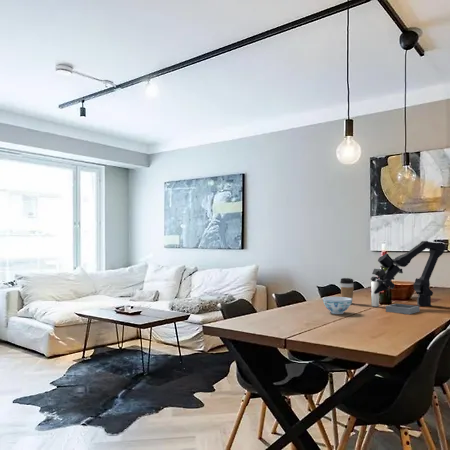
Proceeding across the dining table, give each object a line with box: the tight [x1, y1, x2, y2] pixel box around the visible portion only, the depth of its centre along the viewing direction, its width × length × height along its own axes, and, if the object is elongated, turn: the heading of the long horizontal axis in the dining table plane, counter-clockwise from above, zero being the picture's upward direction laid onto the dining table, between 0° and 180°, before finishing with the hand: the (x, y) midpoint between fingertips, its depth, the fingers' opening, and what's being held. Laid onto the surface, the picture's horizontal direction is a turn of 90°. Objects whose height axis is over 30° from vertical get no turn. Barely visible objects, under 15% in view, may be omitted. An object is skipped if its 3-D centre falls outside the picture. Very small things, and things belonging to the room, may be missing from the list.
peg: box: [370, 281, 380, 307], centre depth 260 cm, size 4×4×14 cm
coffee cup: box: [339, 277, 355, 305], centre depth 273 cm, size 8×8×15 cm
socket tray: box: [385, 303, 420, 315], centre depth 243 cm, size 13×13×3 cm
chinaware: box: [322, 296, 353, 315], centre depth 238 cm, size 15×15×8 cm
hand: (372, 292), depth 260 cm, fingers closed on peg, 4 cm apart
